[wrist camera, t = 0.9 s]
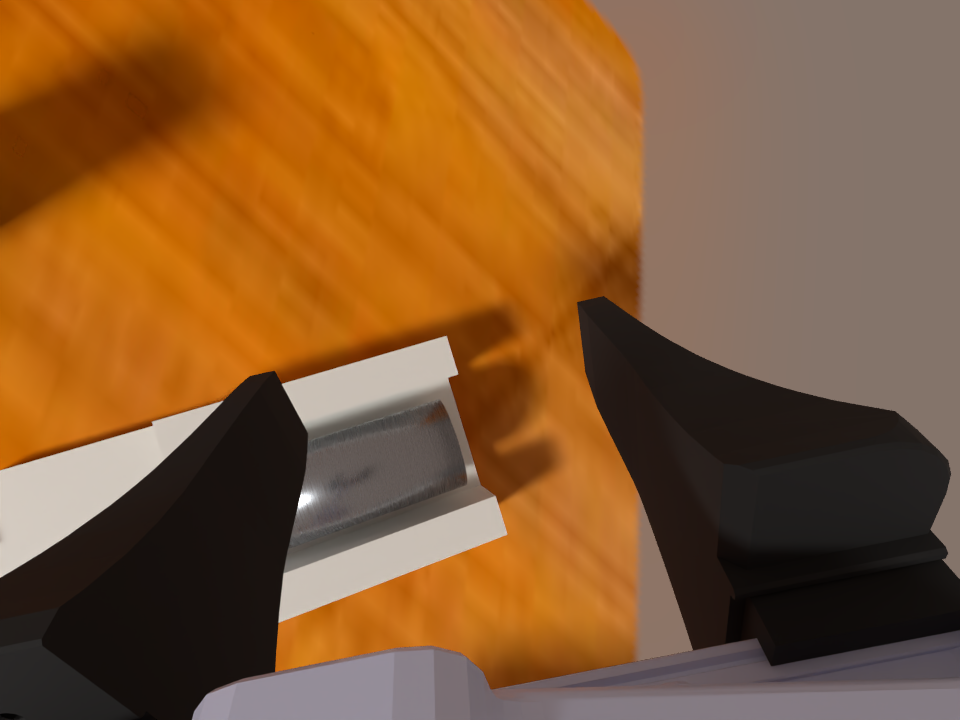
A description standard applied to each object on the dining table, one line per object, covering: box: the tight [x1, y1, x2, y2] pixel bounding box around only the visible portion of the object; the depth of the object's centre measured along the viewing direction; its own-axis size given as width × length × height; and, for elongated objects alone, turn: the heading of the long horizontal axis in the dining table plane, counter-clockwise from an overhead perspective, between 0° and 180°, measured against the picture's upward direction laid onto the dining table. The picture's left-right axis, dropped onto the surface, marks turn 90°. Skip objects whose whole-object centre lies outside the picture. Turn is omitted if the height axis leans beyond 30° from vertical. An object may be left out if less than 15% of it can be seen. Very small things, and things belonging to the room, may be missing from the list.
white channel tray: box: [0, 336, 507, 623], centre depth 24 cm, size 9×20×4 cm, turn 107°
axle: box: [288, 399, 467, 549], centre depth 24 cm, size 10×4×4 cm, turn 107°
